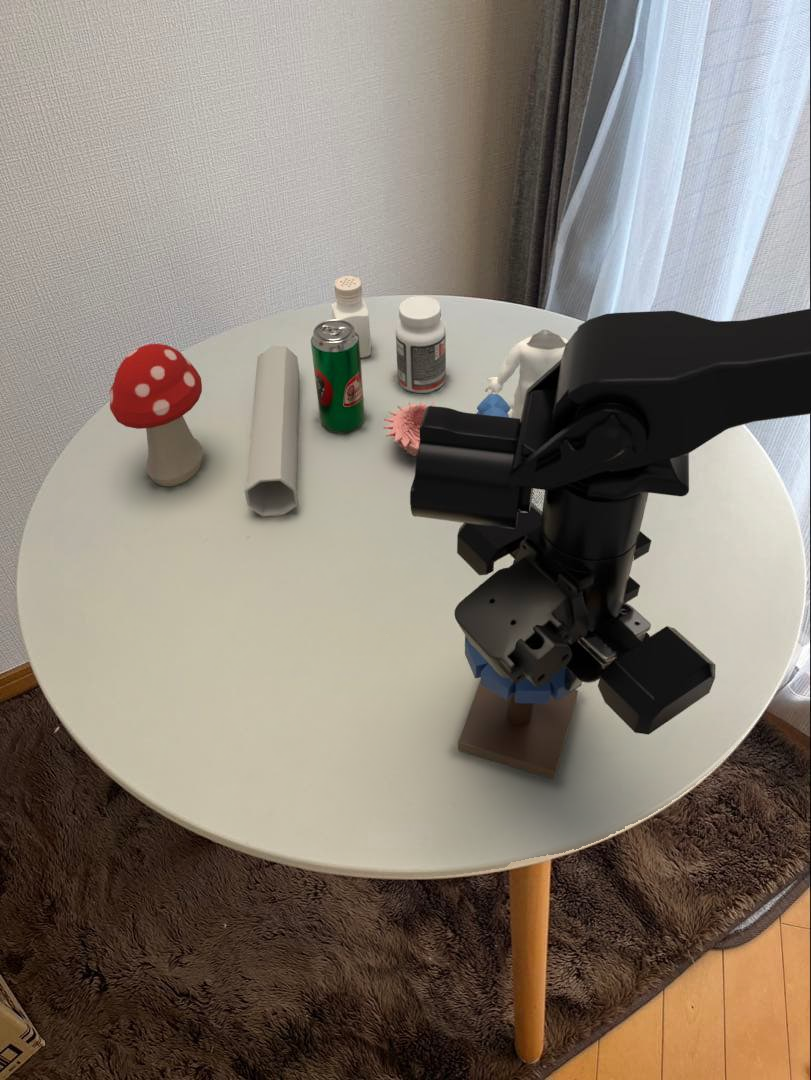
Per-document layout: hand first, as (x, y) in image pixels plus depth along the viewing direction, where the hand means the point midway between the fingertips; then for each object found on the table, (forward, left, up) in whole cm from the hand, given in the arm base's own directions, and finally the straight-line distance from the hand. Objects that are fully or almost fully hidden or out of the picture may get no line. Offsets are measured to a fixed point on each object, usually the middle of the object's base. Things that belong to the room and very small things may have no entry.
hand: (563, 677), depth 64 cm
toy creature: (+11, -40, -11) cm, 43 cm away
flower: (+22, -32, -11) cm, 41 cm away
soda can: (+32, -34, -11) cm, 48 cm away
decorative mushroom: (+46, -21, -11) cm, 52 cm away
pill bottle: (+26, -44, -11) cm, 52 cm away
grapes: (+12, -28, -11) cm, 33 cm away
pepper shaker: (+36, -47, -11) cm, 60 cm away
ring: (+3, -2, -1) cm, 4 cm away
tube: (+38, -29, -11) cm, 49 cm away
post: (+3, -2, -11) cm, 12 cm away
